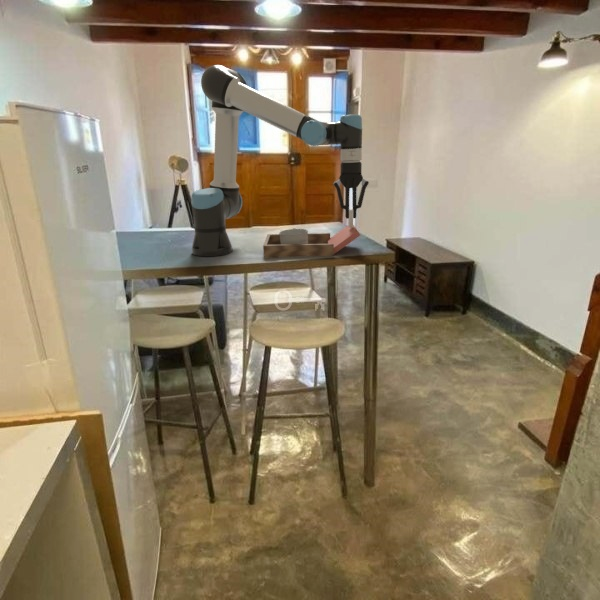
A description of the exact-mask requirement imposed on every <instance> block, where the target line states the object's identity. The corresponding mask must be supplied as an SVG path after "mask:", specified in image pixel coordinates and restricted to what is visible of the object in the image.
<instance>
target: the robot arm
mask: <svg viewBox="0 0 600 600" xmlns="http://www.w3.org/2000/svg"><path fill="white" fill-rule="evenodd" d="M200 78H201V80H200V84H201V85H200V86H201V88H202V91H203V94H204V95H205V97H206V98H208V100H210V101H211V109H212V110H213V111H214V113H215V128H214V132H215V133H214V155H213V156H214V161H213V165H214V166H213V180H211V182H209V187H206V188H203V189H202V188H201V189H198V190H195V191H193V192H192V193H191V196H190V197H191V201H190V204H191V208H192V209H191V210H192V211H191V212H192V219H193V227H194V235H193V236H194V237H193V242H192V246H191V250H192V251H191V253H192V254H193V255H194V256H197V257H218V256H223V255H224V256H225V255H228V254H230V253H232V252H233V245H232V242H231V240H230V237H229V235H228V232H227V228H226V220H229V219H232V218H234V217H235V216H237V214H239V213H240V211H241V209H242V207H243V197H242V195H241V194H240V185H239V184H238V183H237V180H236V179H237V164H238V163H237V162H238V161H237V160H238V146H239V145H238V141H239V123H240V122H239V121H240V116H241V115H242V114H243V113H244V112H245V113H247V114H249V115H251V116H253V117H254V118H257V119H259V120H261V121H263V122H265V123H267V124H268V125H271V126H273V127H275V128H277V129H279V130H281V131H283V132H285V133H287V134H290V135H291V136H293V137H295V138H298V139H299V140H301V141H303V142H304V143H305V144H307V145H308V146H312V147H317V146H331V145H337V146H338V145H340V176H339V178H338V180H337V181H334V182H333V186H334V187H335V190H336V193H337V198H338V202H339V205H340V208H341V209H343V210H345V212H344V213H345V219H347V220H348V221H347V226H348V227H349V228H353V225H354V219H356V218H357V210H358V209H361V208H362V205H363V201H364V196H365V193H366V189H367V187H368V185H369V184H370V183H369V181H368V180H365V179H364V178H363V177H364V176H363V174H362V157H363V156H362V155H363V154H362V153H363V152H362V149H363V146H362V145H363V123H362V122H363V121H362V120H363V119H362V118H363V117H362V116H361V115H360V114H343V115H342V114H341V116H340V119H339V121H334V122H333V121H332V122H331V121H330V122H329V121H328V122H327V121H326V122H325V121H321V120H320V121H319V120H317V119H315V118H313V117H311V116H309V115H307V114H306V113H305V114H304V113H303V112H301V111H298V110H296V109H294V108H293V107H291V106H288V105H287V104H284V103H282V102H281V101H278V100H276V99H274V98H273V97H270V96H268V95H267V94H264V93H262V92H260V91H258V90H256V89H254V88H252V87H250V86H249V85H248V82H247V80H246V78H245V77H244V76H243V75H242V74H241V73H240V72H239V71H237V70H235V69H230V68H229V67H225V66H224V65H220V64H214V65H210V66H208V67H207V68H206V69H205V70H204V72H203V73H202V75H201V77H200ZM341 184H342V186H343V188H345V189H344V191H345V196H344V197H345V199H343V196H342V191H341V188H340V186H341ZM360 184H361V189H360V192H359V198H358V200H357V191H358V189H357V188H358V186H360ZM350 191H352V196H351V197H352V202H351V203H352V206H351V207H352V208H351V209H350ZM344 201H345V203H344Z"/></svg>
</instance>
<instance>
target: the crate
mask: <svg viewBox="0 0 600 600" xmlns="http://www.w3.org/2000/svg"><path fill="white" fill-rule="evenodd" d="M330 238H331V233H330V232H320V233H318V232H316V233H315V232H313V233H309V232H308V244H285V245H281V242H280V234H279V233H267V234H266V237H265V239H264V240H265V241H264V242H263V245H262V247H263V259H267V257H268V259H270V257H272V259H273V258H280V257H281V258H285V257H287V258H288V257H289V258H290V257H291V258H292V257H293V258H294V257H334V255H335V254H334V244H328V241H327V240H328V239H330Z"/></svg>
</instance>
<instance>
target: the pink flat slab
mask: <svg viewBox="0 0 600 600" xmlns="http://www.w3.org/2000/svg"><path fill="white" fill-rule="evenodd" d="M360 236H361V233H360V232H359V230H358V229H357V228H356V227H355V225H354V224H353V228H349V227H348V225H346V226H345V227H343V228H342V229H340V230H339V231H338V232H336V234H334V235H332V236H330V239H328V240H327V241H328V244H334V255H335V254H336V253H338V252H339V251H341V250H342V249H343V248H345V247H346V246H348V245H349V244H350V243H351V242H353V241H354V240H356V239H358V238H359V237H360Z"/></svg>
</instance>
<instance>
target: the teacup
mask: <svg viewBox="0 0 600 600" xmlns="http://www.w3.org/2000/svg"><path fill="white" fill-rule="evenodd" d="M308 233H309V230H308V229H306V228H291V229H284V230H281V231H279V232H278V234H280V242H281V245H285V244H308Z"/></svg>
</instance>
